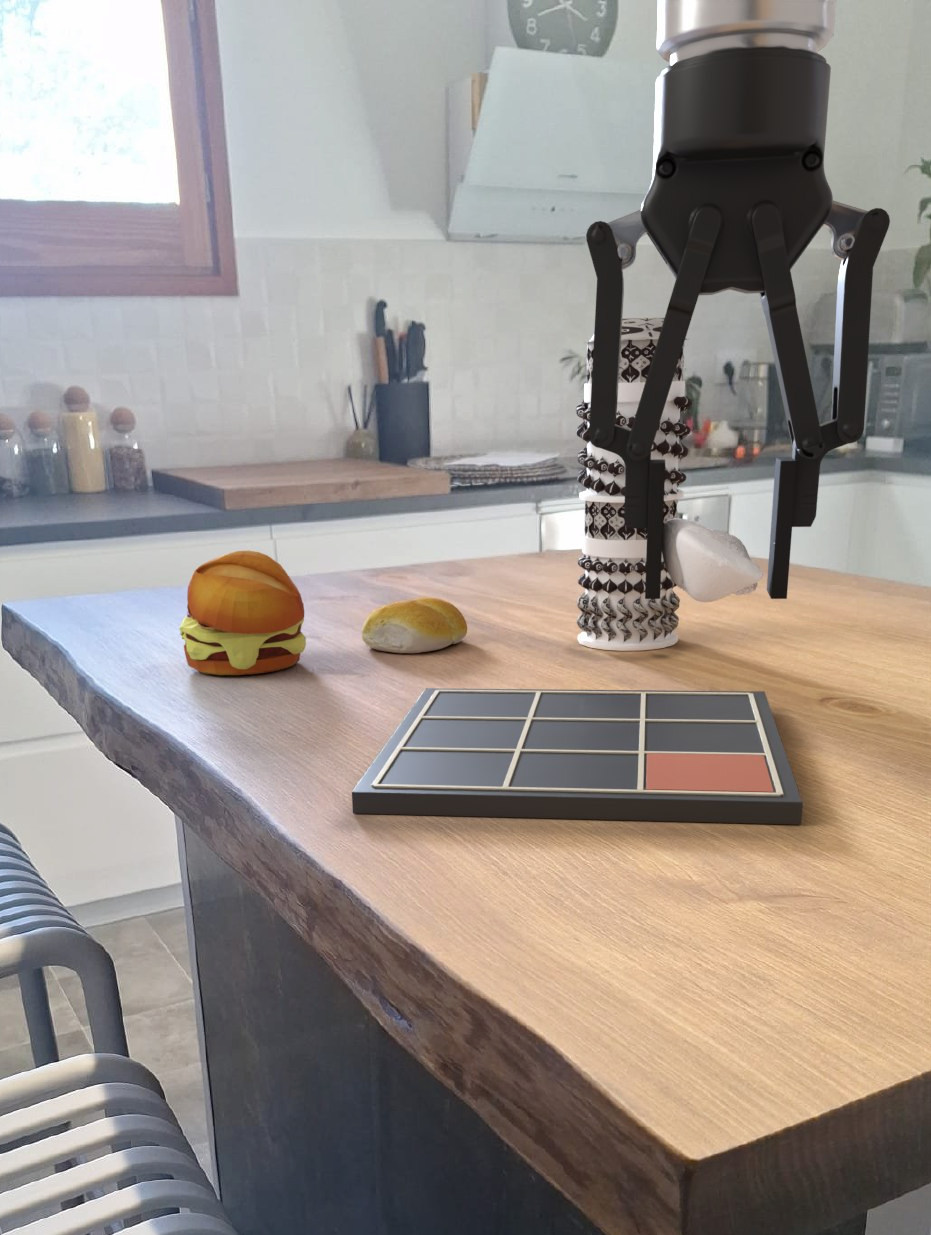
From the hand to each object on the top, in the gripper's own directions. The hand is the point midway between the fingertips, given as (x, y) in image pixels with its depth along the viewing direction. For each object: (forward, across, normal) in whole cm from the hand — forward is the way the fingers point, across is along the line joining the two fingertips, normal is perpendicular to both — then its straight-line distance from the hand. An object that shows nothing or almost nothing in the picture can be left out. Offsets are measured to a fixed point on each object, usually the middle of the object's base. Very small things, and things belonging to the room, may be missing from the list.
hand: (714, 593), depth 63 cm
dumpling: (+1, 0, 0) cm, 1 cm away
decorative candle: (+11, +5, -41) cm, 43 cm away
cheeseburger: (+11, +35, -30) cm, 47 cm away
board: (+11, +7, -7) cm, 14 cm away
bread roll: (+11, +23, -39) cm, 46 cm away
